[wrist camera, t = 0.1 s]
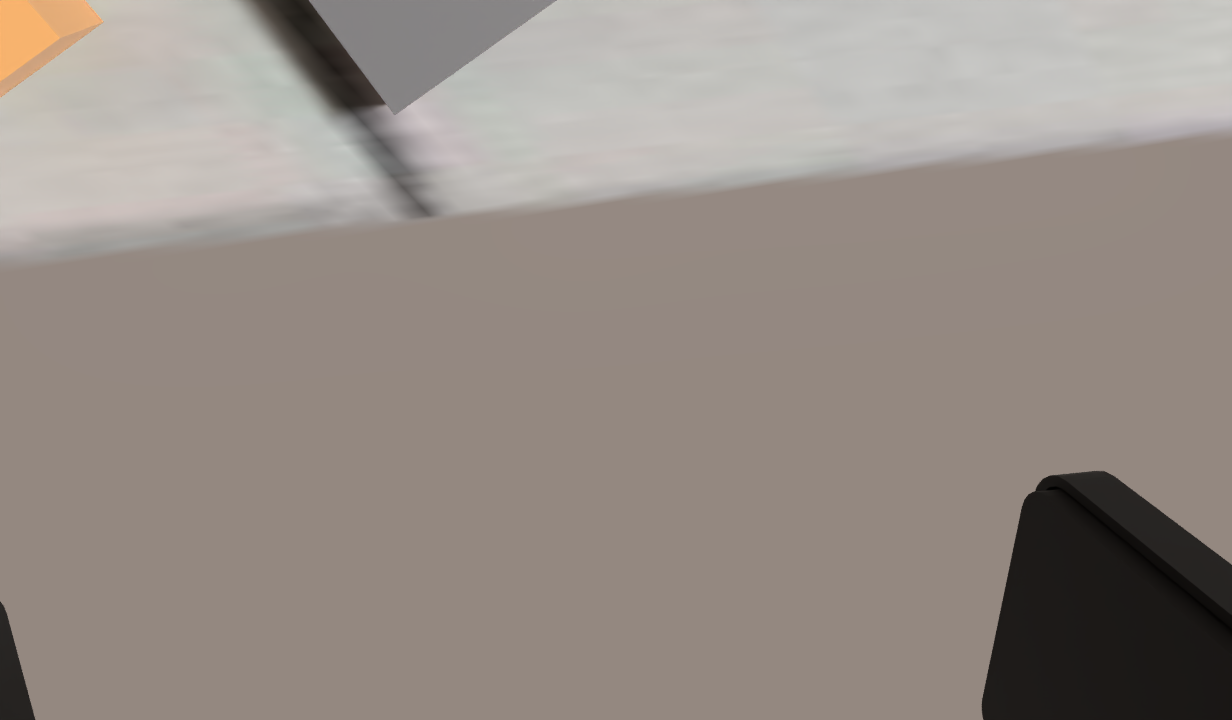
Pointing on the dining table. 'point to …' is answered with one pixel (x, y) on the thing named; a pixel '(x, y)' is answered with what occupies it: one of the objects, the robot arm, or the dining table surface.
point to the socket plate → (420, 38)
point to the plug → (38, 34)
